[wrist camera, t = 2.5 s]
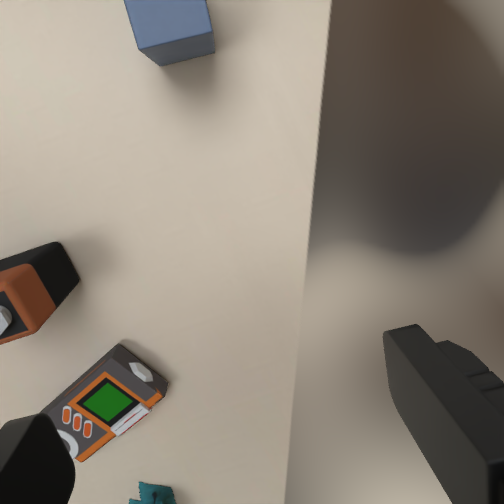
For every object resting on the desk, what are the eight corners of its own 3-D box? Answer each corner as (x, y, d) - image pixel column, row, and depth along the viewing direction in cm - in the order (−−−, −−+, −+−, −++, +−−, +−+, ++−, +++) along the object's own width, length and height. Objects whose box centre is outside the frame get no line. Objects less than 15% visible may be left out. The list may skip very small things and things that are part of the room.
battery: (83, 281, 35) (32, 341, 26) (14, 304, 36) (-60, 371, 26) (60, 238, 34) (-2, 285, 25) (-11, 263, 34) (-99, 318, 25)
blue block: (159, 66, 30) (138, 50, 22) (140, 1, 28) (111, -40, 21) (215, 52, 30) (213, 31, 22) (199, -14, 28) (191, -61, 21)
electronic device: (12, 445, 38) (112, 357, 35) (27, 421, 41) (121, 338, 37) (68, 479, 40) (167, 400, 37) (78, 455, 43) (172, 379, 39)
